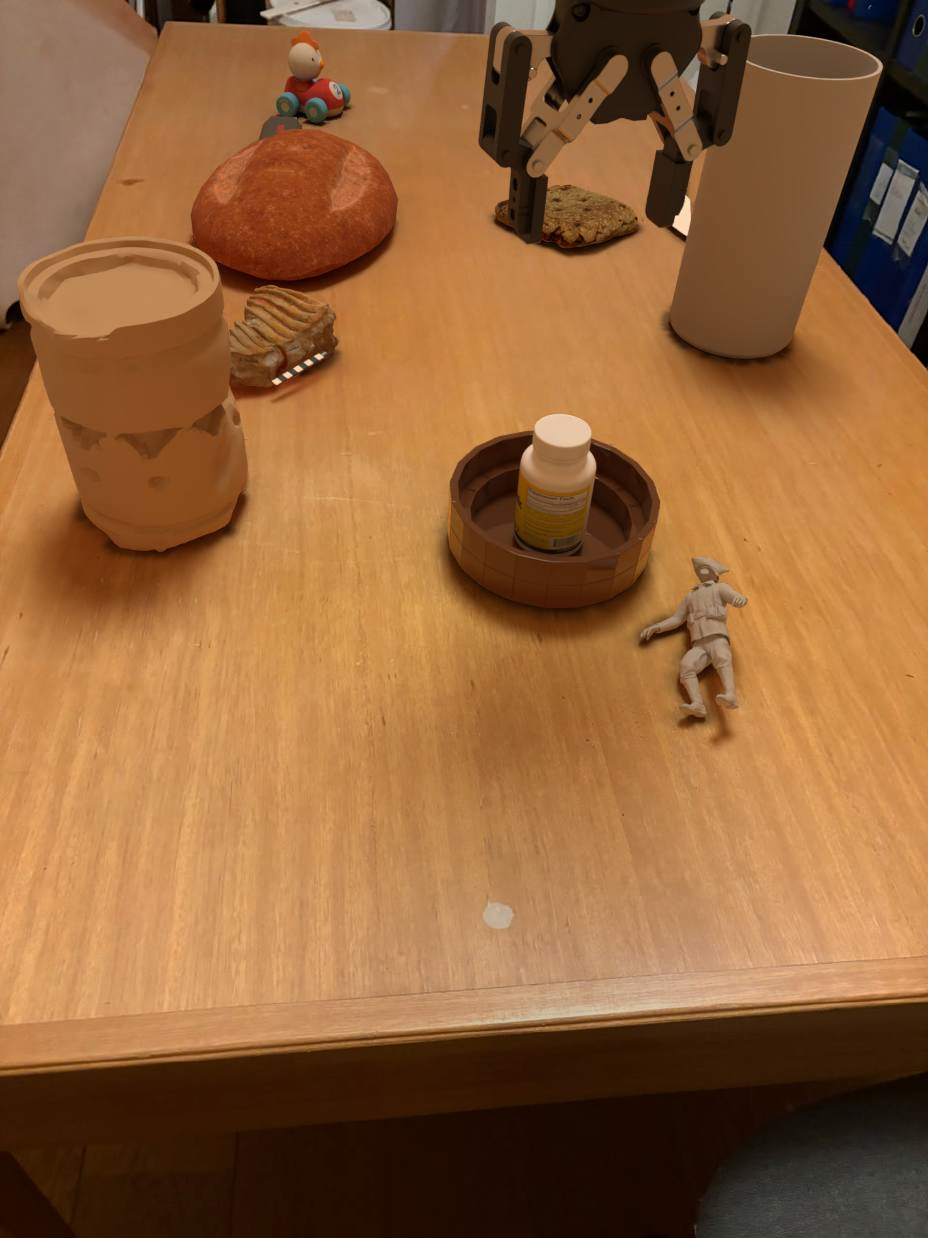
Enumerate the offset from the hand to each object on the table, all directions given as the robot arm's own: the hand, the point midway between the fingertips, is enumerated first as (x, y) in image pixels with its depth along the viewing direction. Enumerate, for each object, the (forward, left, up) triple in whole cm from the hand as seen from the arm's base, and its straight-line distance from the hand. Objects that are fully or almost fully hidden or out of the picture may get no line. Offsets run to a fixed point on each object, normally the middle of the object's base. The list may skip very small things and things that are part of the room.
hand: (594, 229), depth 54 cm
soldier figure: (-14, -5, -24) cm, 28 cm away
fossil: (+30, +13, -24) cm, 41 cm away
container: (+14, +26, -24) cm, 38 cm away
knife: (+55, -43, -24) cm, 74 cm away
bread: (+59, +4, -24) cm, 64 cm away
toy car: (+96, -8, -24) cm, 99 cm away
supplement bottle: (0, 0, -24) cm, 24 cm away
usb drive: (+83, 0, -24) cm, 86 cm away
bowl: (0, 0, -24) cm, 24 cm away
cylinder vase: (+24, -32, -24) cm, 47 cm away
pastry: (+52, -27, -24) cm, 63 cm away
